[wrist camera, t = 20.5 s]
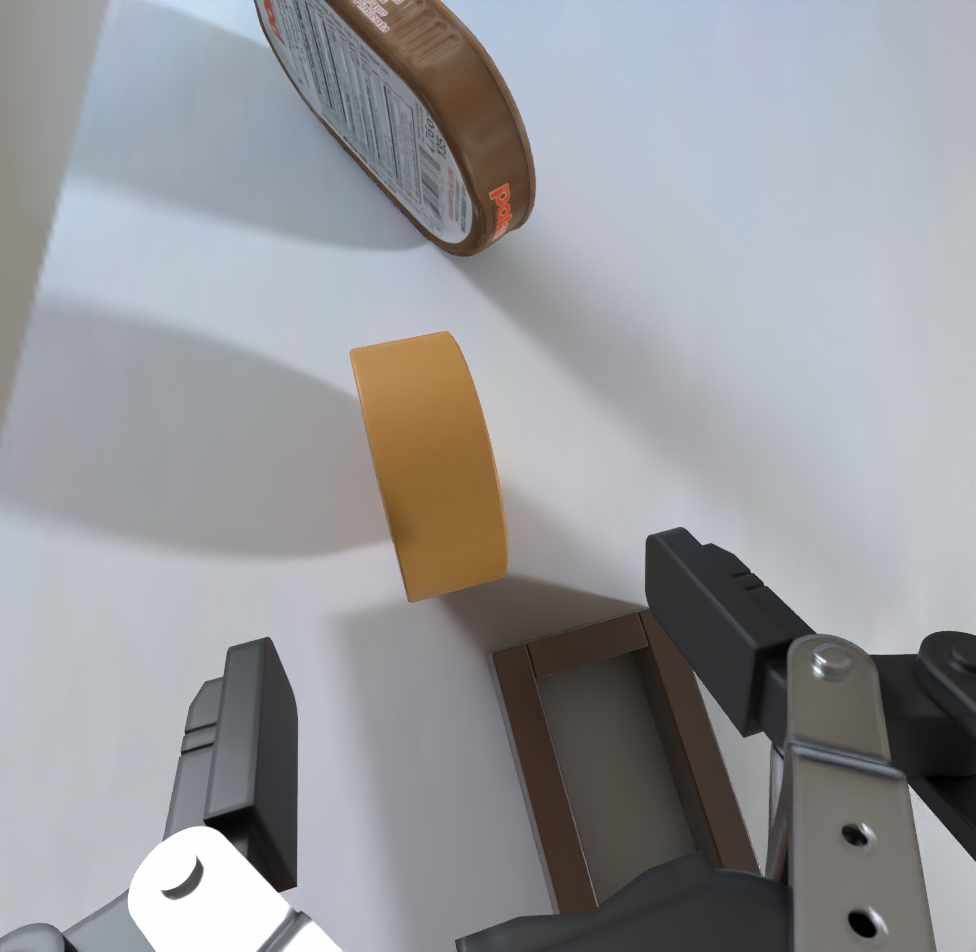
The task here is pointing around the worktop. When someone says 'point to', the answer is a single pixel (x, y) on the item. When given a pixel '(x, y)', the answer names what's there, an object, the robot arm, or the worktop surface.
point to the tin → (412, 110)
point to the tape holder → (679, 730)
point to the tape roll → (432, 464)
